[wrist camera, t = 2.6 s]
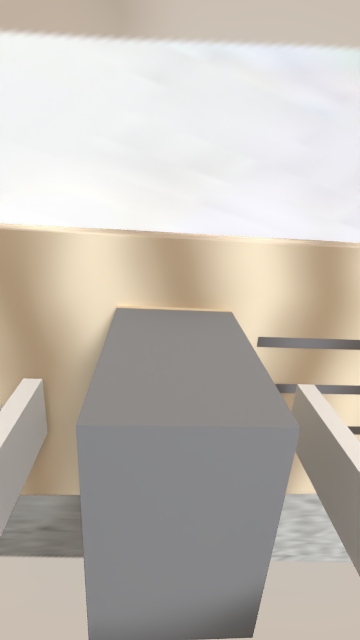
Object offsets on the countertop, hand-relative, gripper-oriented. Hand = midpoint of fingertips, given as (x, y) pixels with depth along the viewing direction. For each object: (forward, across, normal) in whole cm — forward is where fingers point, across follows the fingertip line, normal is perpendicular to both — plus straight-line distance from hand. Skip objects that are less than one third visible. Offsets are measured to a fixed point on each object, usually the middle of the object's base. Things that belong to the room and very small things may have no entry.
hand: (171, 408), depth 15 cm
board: (+4, +6, 0) cm, 7 cm away
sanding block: (+2, 0, 0) cm, 2 cm away
